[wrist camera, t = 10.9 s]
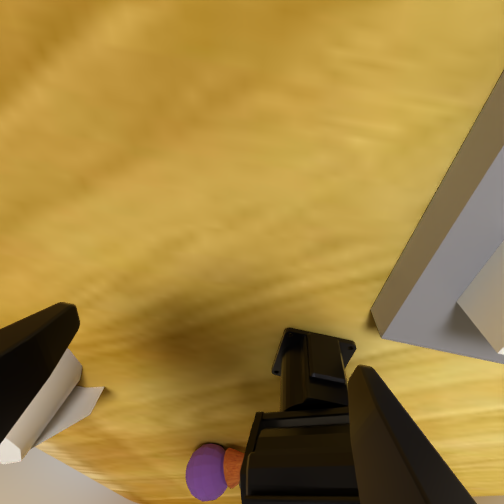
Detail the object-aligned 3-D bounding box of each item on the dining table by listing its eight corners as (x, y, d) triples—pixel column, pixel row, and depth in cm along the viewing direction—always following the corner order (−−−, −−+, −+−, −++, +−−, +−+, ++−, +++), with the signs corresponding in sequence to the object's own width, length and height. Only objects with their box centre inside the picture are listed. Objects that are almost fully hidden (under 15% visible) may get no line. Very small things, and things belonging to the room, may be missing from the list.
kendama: (346, 487, 32) (198, 507, 36) (333, 429, 36) (203, 453, 41) (335, 476, 28) (173, 500, 33) (322, 414, 33) (181, 442, 37)
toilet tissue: (119, 393, 34) (72, 477, 27) (18, 375, 34) (-55, 452, 27) (106, 346, 29) (45, 432, 22) (-10, 325, 30) (-108, 403, 22)
